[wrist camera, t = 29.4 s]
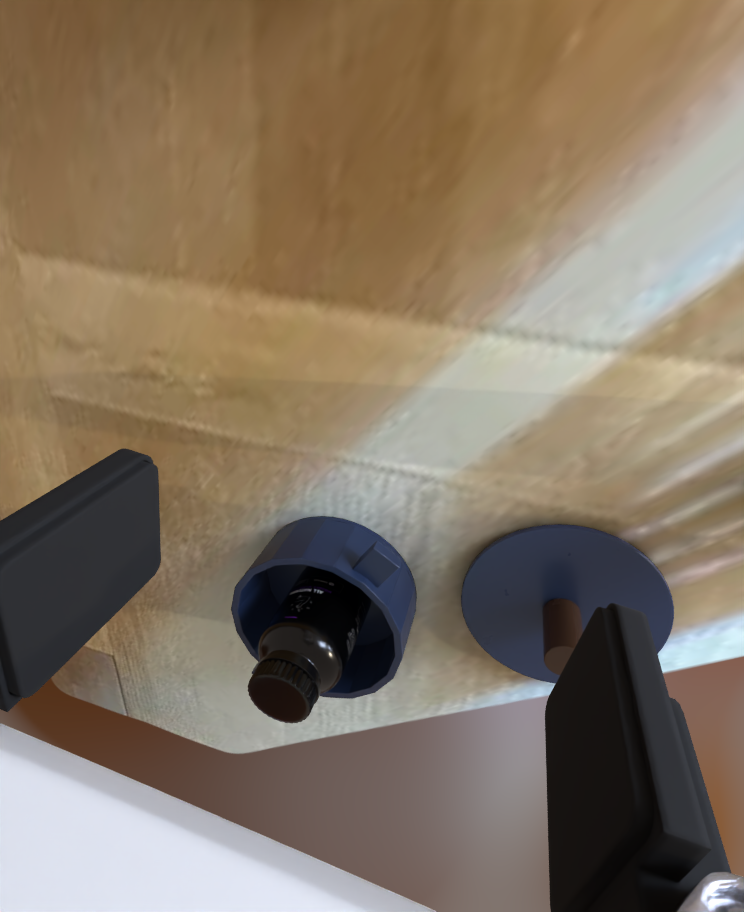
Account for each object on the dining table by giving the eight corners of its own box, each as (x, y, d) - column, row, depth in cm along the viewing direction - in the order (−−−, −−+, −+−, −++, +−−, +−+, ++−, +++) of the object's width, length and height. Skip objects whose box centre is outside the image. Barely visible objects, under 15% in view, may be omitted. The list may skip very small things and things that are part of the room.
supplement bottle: (328, 542, 44) (265, 647, 33) (388, 592, 44) (345, 710, 34) (286, 583, 47) (218, 690, 37) (343, 629, 48) (291, 747, 37)
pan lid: (425, 595, 44) (411, 649, 39) (558, 481, 36) (562, 528, 31) (562, 701, 45) (566, 766, 40) (719, 610, 37) (751, 678, 32)
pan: (227, 594, 51) (193, 639, 46) (331, 463, 41) (302, 501, 36) (342, 680, 52) (321, 734, 46) (471, 572, 42) (463, 624, 37)
